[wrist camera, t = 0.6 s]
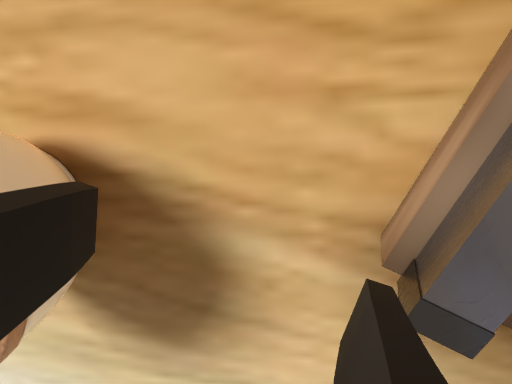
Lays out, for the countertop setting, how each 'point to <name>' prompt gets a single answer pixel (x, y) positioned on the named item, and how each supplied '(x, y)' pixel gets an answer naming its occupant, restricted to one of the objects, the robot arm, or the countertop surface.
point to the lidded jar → (21, 177)
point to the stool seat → (452, 165)
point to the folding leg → (467, 262)
